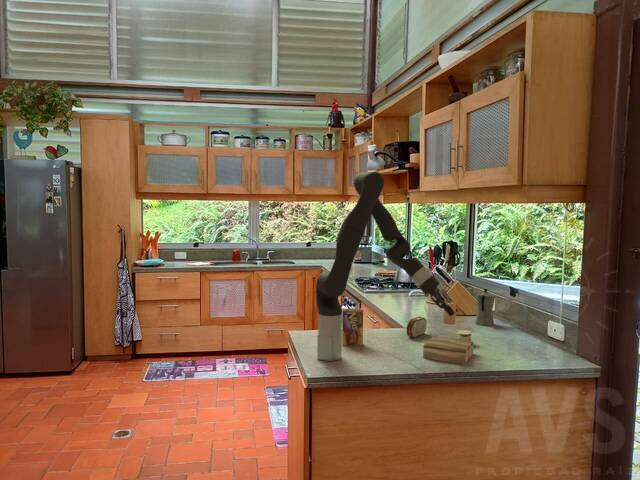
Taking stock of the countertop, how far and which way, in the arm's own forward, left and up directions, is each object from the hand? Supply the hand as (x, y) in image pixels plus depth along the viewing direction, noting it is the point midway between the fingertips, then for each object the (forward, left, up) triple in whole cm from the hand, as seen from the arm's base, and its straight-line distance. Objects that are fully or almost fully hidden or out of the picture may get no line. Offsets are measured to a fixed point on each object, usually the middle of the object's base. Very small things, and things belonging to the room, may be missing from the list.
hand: (454, 313), depth 202 cm
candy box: (-4, +42, -17) cm, 46 cm away
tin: (+24, +22, -17) cm, 37 cm away
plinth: (0, +2, -17) cm, 17 cm away
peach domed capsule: (0, +2, -4) cm, 5 cm away
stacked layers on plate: (+21, 0, -18) cm, 27 cm away
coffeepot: (+64, -1, -17) cm, 66 cm away
